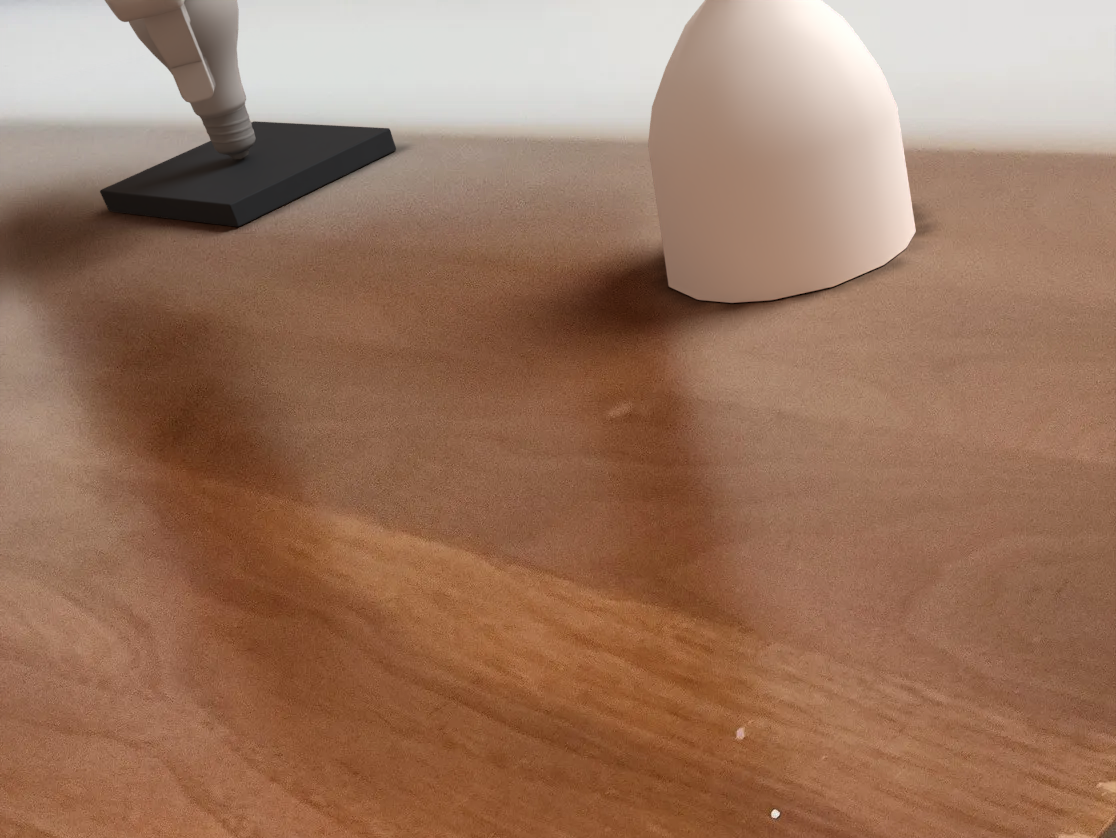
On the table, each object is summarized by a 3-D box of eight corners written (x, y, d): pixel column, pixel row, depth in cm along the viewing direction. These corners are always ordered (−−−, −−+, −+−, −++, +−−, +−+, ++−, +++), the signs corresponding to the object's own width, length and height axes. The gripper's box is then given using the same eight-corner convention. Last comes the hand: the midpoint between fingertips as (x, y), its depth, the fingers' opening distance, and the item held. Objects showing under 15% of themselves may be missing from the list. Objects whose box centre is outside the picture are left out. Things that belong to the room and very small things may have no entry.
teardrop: (859, 182, 67) (823, -140, 58) (958, 247, 59) (933, -114, 50) (635, 251, 66) (565, -67, 57) (705, 326, 58) (637, -29, 49)
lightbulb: (199, 187, 83) (106, -39, 75) (184, 161, 87) (94, -56, 79) (299, 154, 84) (218, -72, 76) (280, 130, 88) (200, -87, 80)
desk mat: (108, 211, 88) (98, 190, 87) (261, 141, 93) (254, 120, 92) (238, 227, 80) (229, 204, 79) (397, 150, 86) (390, 127, 85)
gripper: (66, -233, 80) (179, 52, 90) (-11, -198, 66) (133, 137, 76) (175, -261, 80) (276, 27, 90) (122, -232, 66) (249, 107, 76)
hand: (210, 78), depth 83 cm, fingers open, 8 cm apart
